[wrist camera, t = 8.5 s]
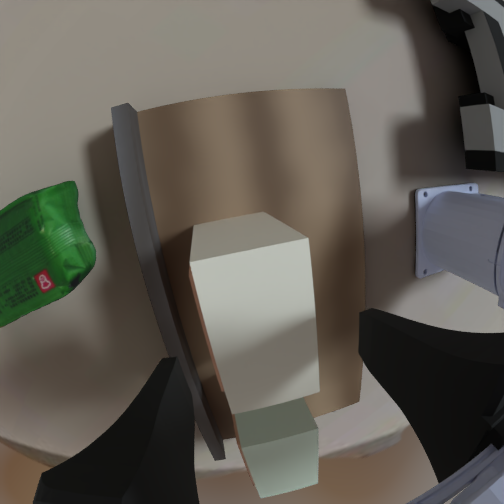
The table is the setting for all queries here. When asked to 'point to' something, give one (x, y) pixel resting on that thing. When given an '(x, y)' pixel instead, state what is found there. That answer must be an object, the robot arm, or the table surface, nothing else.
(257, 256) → the cream carton
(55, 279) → the snack package
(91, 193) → the table surface
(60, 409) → the table surface
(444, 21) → the game console
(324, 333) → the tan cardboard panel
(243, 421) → the sage carton
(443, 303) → the table surface
